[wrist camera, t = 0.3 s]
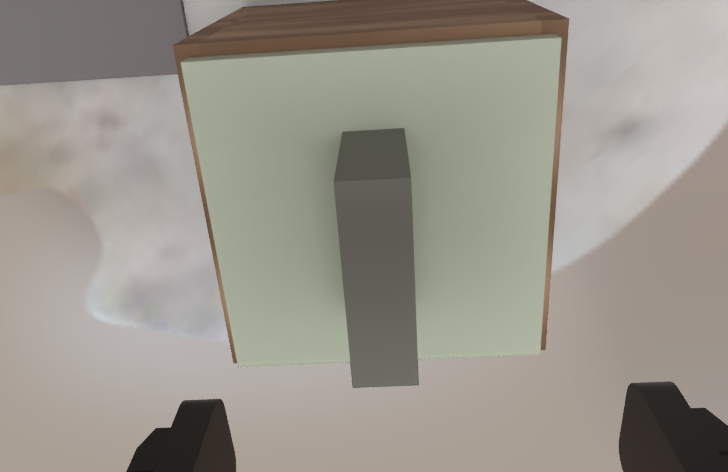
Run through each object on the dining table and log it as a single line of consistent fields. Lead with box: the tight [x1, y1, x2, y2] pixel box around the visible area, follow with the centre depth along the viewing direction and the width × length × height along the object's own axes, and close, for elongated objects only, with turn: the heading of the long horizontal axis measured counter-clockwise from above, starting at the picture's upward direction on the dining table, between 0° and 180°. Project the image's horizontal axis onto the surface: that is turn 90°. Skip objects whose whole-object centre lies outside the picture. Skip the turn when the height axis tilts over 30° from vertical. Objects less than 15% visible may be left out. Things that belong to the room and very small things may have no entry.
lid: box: [180, 34, 562, 388], centre depth 24 cm, size 14×14×8 cm
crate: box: [173, 0, 569, 363], centre depth 33 cm, size 15×15×14 cm
